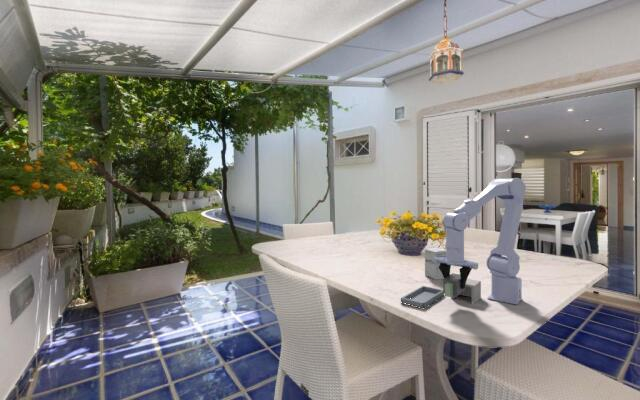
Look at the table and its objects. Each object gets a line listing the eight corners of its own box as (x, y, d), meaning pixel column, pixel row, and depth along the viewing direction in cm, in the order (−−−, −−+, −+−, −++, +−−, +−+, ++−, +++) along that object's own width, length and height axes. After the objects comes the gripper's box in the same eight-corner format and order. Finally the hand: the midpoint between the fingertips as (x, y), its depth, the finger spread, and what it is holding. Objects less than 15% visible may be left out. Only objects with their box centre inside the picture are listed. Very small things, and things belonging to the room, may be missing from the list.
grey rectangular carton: (454, 298, 108) (454, 283, 108) (440, 295, 111) (440, 280, 111) (465, 289, 116) (465, 275, 116) (452, 286, 119) (452, 273, 119)
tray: (444, 295, 126) (444, 290, 126) (423, 309, 113) (423, 303, 113) (422, 290, 132) (422, 285, 132) (400, 303, 119) (400, 297, 119)
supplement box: (424, 275, 153) (424, 248, 152) (437, 273, 155) (437, 247, 155) (435, 280, 146) (435, 251, 145) (448, 278, 148) (448, 250, 148)
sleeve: (474, 303, 118) (474, 285, 117) (450, 298, 123) (450, 281, 123) (480, 297, 123) (480, 281, 122) (457, 293, 128) (457, 277, 128)
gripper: (429, 247, 116) (430, 285, 117) (473, 252, 106) (473, 293, 107) (438, 244, 121) (438, 280, 122) (480, 248, 111) (480, 288, 112)
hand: (455, 286), depth 115 cm, fingers closed on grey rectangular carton, 5 cm apart
